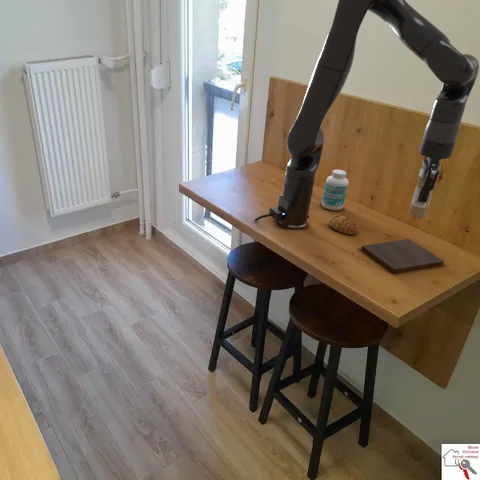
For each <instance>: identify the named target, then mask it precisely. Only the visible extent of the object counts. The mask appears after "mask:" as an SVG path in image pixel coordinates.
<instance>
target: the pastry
mask: <svg viewBox="0 0 480 480" xmlns="http://www.w3.org/2000/svg"><path fill="white" fill-rule="evenodd" d="M328 225H329V226H330V228H332V229H333V230H335V231H337V232H340V233H342V234H344V235H355V234H357V233H358V232H359V227H358V226H357V224H356V223H355V222H354V221H353V220H352V219H351V218H349V217H347V216H345V215H344V216H342V215H341V214H335V215H333V216H332V217H331V218H330V220H329V221H328Z"/></svg>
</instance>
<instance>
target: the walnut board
mask: <svg viewBox="0 0 480 480" xmlns="http://www.w3.org/2000/svg"><path fill="white" fill-rule="evenodd" d="M360 250H361V251H362V252H363V253H365V254H366V255H367V256H369V257H370V258H371V259H373V260H374V261H375V262H377V263H378V264H380V265H381V266H382V267H384V268H385V269H386V270H388V272H390V273H392V274H393V275H395V274H400V273H407V272H412V271H417V270H418V271H419V270H423V269H429V268H435V267H441V266H444V262H445V260H443V259H442V258H440V257H438V256H437V255H435V254H434V253H432V252H431V251H429V250H427V248H424V247H422V246H421V245H420V244H418V243H416V242H414V241H413V240H411V239H410V238H403V239H398V240H391V241H385V242H384V241H383V242H377V243H372V244H371V243H370V244H366V245H365V244H364V245H361V249H360Z"/></svg>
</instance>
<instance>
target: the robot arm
mask: <svg viewBox="0 0 480 480" xmlns="http://www.w3.org/2000/svg"><path fill="white" fill-rule="evenodd" d="M368 11H369V12H371V13H373V14H374V15H376V16H377V17H379V18H380V19H381V20H382V21H384V22H385V23H386V24H387V25H388V26H389V27H390V29H391V30H392V31H393V33H394V34H395V35H396V36H397V38H398V39H399V41H400V42H401V43H402V44H403V45H404V46H405V48H407V49H408V50H409V51H411V52H412V53H413V54H414V55H415V56H416V57H418V58H419V60H421V61H422V62H424V63H425V65H426V66H427V68H428V69H429V70H430V71H431V72H432V74H433V75H434V76H435V77H436V78H437V79H438V80H439V81H440V82H441V83H442V84H441V88H440V92H439V94H438V96H437V97H436V98H435V99H434V102H433V104H432V108H431V111H430V115H429V118H428V121H427V124H426V126H425V129H424V132H423V136H422V140H421V143H420V147H419V150H418V153H419V155H421V156H423V160H422V162H421V163H422V165H421V169H422V168H423V173H422V177H421V179H422V180H423V182H422V186H421V190H420V194H419V197H418V201H419V202H423V203H426V202H427V200H428V197H429V193H430V190H433V191H434V189H435V186H436V183H437V181H438V178H439V175H440V171H441V167H442V164H441V160H448V159H450V158H451V157H452V155H453V151H454V149H455V145H456V142H457V138H458V137H459V133H460V127H461V122H462V120H463V116H464V112H465V110H466V106H467V105H466V104H467V101H468V99H469V96H470V95H471V92H472V90H473V88H474V86H475V83H476V81H477V78H478V75H479V71H480V62H479V61H478V58H477V57H475V56H474V55H472V54H469V53H461V52H460V51H459V50H458V49H457V48H456V47H454V46H453V45H452V44H451V40H450V38H449V37H448V36H447V35H446V34H445V33H444V32H443V31H441V29H439V28H438V27H437V26H435V25H434V24H433V23H432V22H431V21H429V20H428V19H427V18H426V17H425V16H423V15H422V14H421V13H420V12H418V11H417V10H416V9H415V8H413V6H412V5H410V4H409V3H408V2H407V1H406V0H338V1H337V6H336V9H335V13H334V17H333V20H332V23H331V26H330V28H329V31H328V33H327V36H326V39H325V41H324V44H323V46H322V49H321V52H320V54H319V56H318V58H317V62H316V64H315V66H314V70H313V72H312V75H311V78H310V81H309V84H308V87H307V90H306V93H305V95H304V98H303V102H302V105H301V107H300V110H299V113H298V115H297V117H296V119H295V121H294V122H293V125H292V126H291V129H290V130H289V132H288V136H287V138H286V148H287V151H288V153H289V154H290V155H291V156H290V159H289V161H288V163H287V164H286V168H285V172H284V181H283V186H282V194H279V197H278V204H277V206H271V207H270V206H269V212H268V213H266V214H263V215H260V216H257V217H256V218H254V221H255V222H257V221H260V220H261V219H265V218H268V217H270V218H271V219H273V220H274V221H275V222H277V223H278V224H279V225H280V226H282V227H283V228H284V229H291V230H300V229H304V228H306V227H307V226H308V220H310V215H309V213H310V209H311V208H310V207H311V202H312V197H313V191H314V184H315V179H316V174H317V171H318V168H319V166H320V163H321V159H322V154H323V149H324V142H325V134H324V130H323V129H322V127H321V126H322V123H323V121H324V119H325V117H326V116H327V113H329V112H328V111H329V110H330V108H332V106H333V104H334V103H335V101H336V100H337V98H338V96H339V95H340V93H341V92H342V90H343V88H344V86H345V84H346V81H347V79H348V76H349V74H350V72H351V69H352V66H353V64H354V63H353V62H354V59H355V52H356V44H357V39H358V33H359V30H360V27H361V25H362V23H363V21H364V19H365V17H366V14H367V12H368ZM425 174H426V177H425ZM437 177H438V178H437ZM426 183H431V184H430V185H426ZM434 185H435V186H434Z"/></svg>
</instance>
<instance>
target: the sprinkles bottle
mask: <svg viewBox="0 0 480 480" xmlns="http://www.w3.org/2000/svg"><path fill="white" fill-rule="evenodd" d="M422 173H423V168H422V167H421V168H420V169H419V172H418V179H417V182H416V185H415V189H414V192H413V196H412V199H411V202H410V207H409V211H408V212H407V214H408V215H409V216H410V217H411V218H413V219H420V220H421V219H425V218H426V217H427V213H428V209H429V206H430V203H431V200H432V196H433V192H434V189H433V190H430V193H429V197H428V200H427V202H426V203H423V202H419V201H418V197H419V194H420V190H421V186H422V182H423V180H422V179H421V177H422ZM425 177H426V174H425ZM438 178H439V176H438V177H437V179H438ZM430 184H431V183H426V185H430ZM435 186H436V184H435V185H434V187H435Z"/></svg>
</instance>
